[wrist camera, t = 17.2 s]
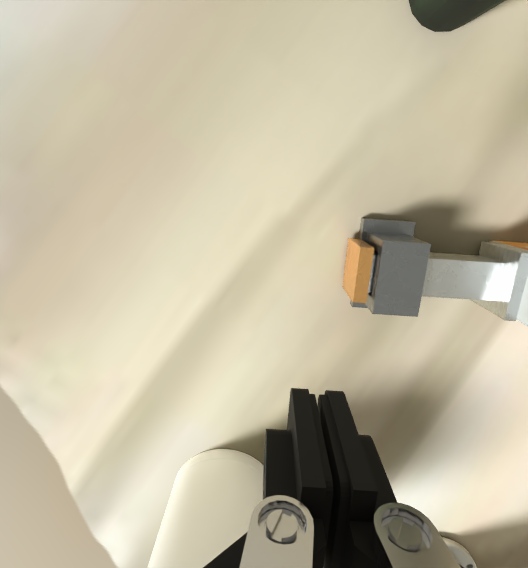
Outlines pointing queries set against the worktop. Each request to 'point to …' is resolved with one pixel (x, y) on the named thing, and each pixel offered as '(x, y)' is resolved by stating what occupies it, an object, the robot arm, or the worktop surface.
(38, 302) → the worktop surface
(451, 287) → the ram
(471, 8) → the potion bottle
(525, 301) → the small box
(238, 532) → the cylinder
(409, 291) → the guide block
